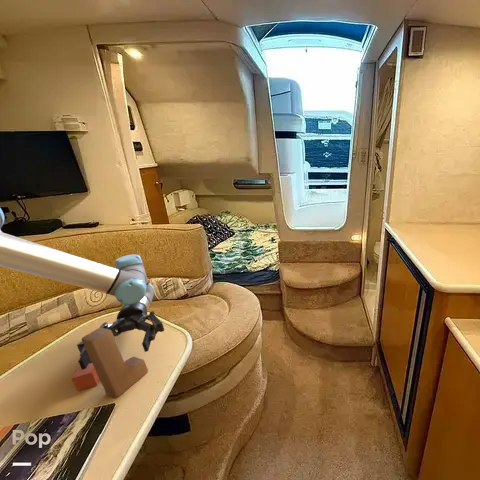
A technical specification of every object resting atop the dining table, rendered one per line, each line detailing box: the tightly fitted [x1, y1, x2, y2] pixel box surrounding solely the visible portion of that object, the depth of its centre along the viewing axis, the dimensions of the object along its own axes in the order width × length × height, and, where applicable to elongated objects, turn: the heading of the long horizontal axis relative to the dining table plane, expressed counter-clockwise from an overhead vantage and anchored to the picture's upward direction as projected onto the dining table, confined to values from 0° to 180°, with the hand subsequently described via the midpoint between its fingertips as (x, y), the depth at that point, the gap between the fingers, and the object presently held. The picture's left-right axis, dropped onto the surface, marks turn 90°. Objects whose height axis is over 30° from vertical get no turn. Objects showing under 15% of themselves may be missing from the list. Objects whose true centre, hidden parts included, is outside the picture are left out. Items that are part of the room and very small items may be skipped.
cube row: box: [70, 360, 100, 392], centre depth 78 cm, size 15×4×4 cm, turn 22°
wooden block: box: [81, 327, 149, 399], centre depth 70 cm, size 9×4×18 cm, turn 159°
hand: (114, 356), depth 68 cm, fingers open, 13 cm apart
